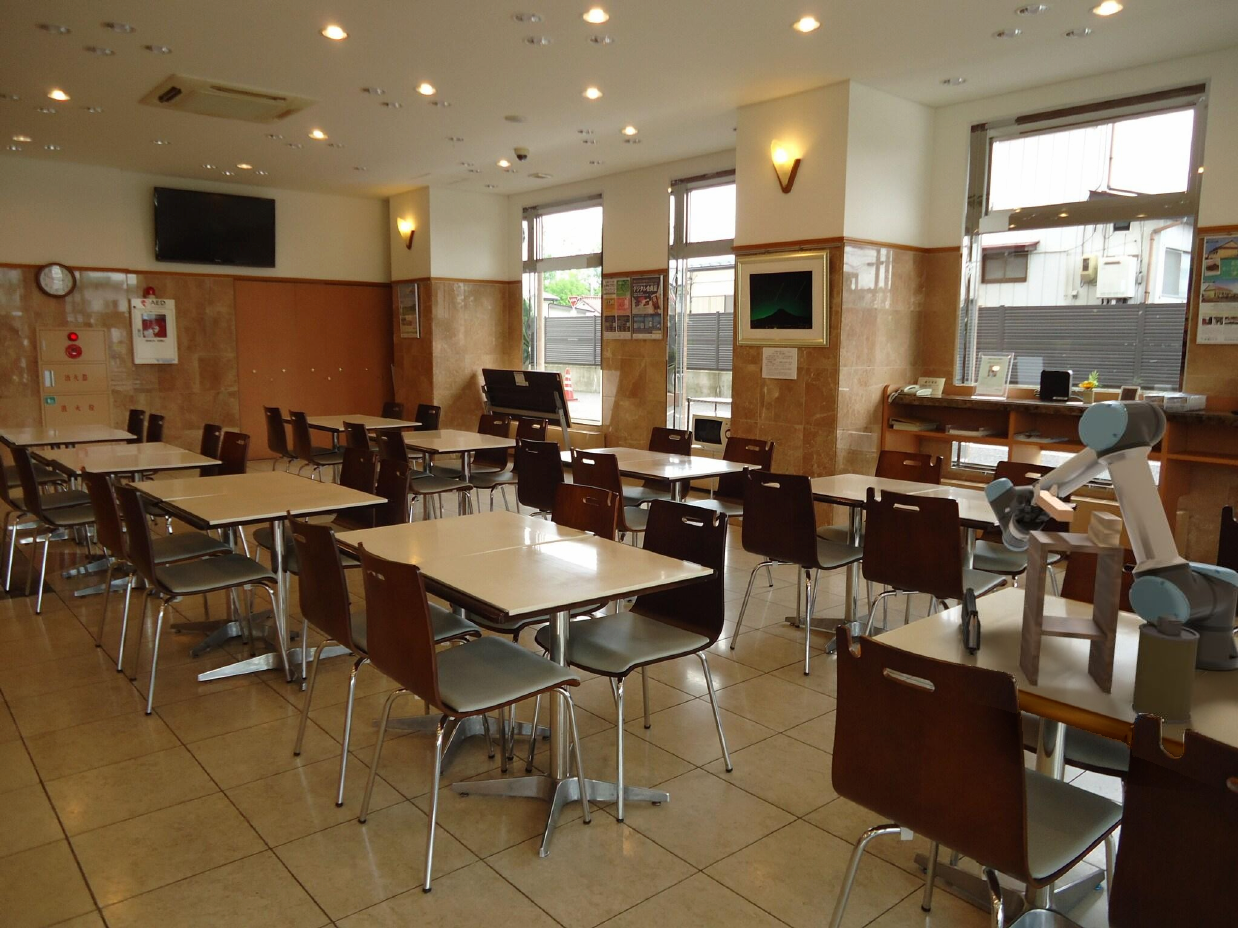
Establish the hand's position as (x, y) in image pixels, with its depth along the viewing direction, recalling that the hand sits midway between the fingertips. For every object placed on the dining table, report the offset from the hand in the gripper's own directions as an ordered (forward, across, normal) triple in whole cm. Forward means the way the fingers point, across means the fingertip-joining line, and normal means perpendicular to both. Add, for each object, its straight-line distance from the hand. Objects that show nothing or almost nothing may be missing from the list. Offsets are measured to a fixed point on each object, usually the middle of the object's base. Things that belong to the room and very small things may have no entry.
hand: (1047, 489), depth 211 cm
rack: (-4, -2, -44) cm, 44 cm away
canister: (+9, -18, -51) cm, 55 cm away
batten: (+3, 0, -6) cm, 7 cm away
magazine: (-23, +14, -33) cm, 43 cm away
